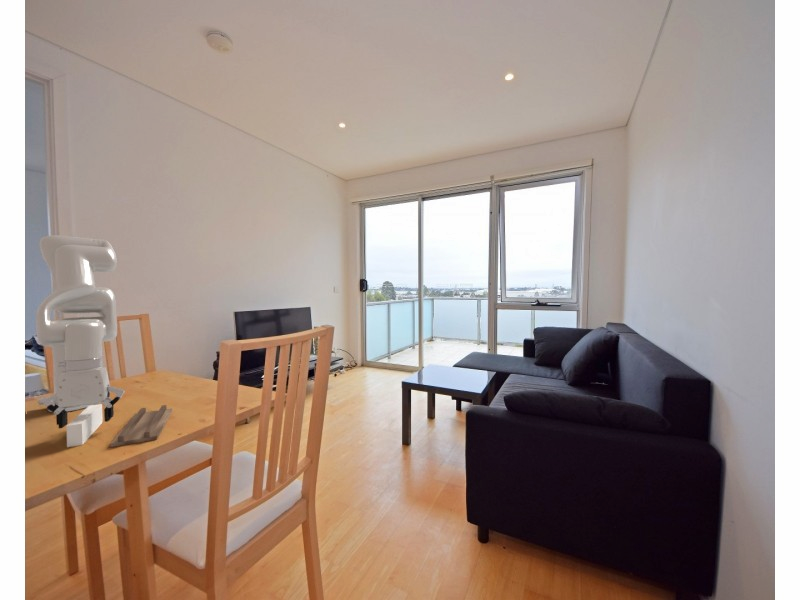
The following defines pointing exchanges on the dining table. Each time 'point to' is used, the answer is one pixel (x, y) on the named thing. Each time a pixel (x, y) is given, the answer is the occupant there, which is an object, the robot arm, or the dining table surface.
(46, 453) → the dining table surface
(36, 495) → the dining table surface
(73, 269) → the robot arm
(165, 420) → the walnut rack
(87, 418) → the white strip
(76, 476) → the dining table surface
